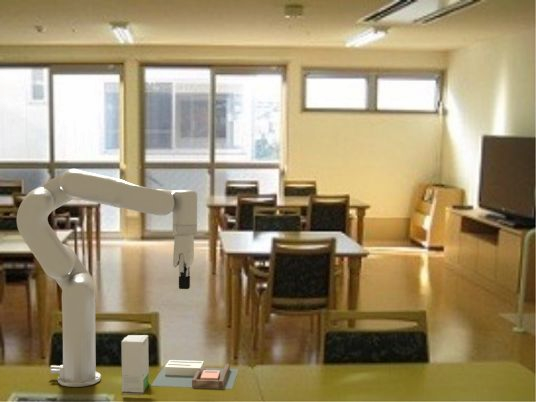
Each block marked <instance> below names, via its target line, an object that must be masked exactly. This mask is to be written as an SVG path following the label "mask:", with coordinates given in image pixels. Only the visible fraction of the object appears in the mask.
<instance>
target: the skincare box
mask: <svg viewBox="0 0 536 402" xmlns="http://www.w3.org/2000/svg"><path fill="white" fill-rule="evenodd" d="M120 345H121V347H120V348H121V392H122V393H121V395H123V396H124V395H125V396H126V395H127V396H143V395H144V392H145V391H146V389H147V388H148V386H149V383H150V374H149V373H150V372H149V370H150V369H149V367H150V365H149V364H150V363H149V335H147V334H142V335H141V334H140V335H139V334H131V335H130V334H128V335H127V336H125V337H123V339H122V340H121V343H120Z"/></svg>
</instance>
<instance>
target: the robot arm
mask: <svg viewBox="0 0 536 402" xmlns="http://www.w3.org/2000/svg"><path fill="white" fill-rule="evenodd" d="M74 199H75V200H80V201H84V202H92V203H95V204H100V205H105V206H109V207H114V208H118V209H125V210H130V211H135V212H139V213H144V214H149V215H154V216H160V217H162V216H164V217H165V216H168V215H169V214H170V213H172V235H173V236H174V240H173V253H172V256H173V257H172V258H173V259H172V266H173V268H177V267H178V289H179V290H189V289H190V288H191V266H192V264H193V263H194V260H195V259H194V257H195V242H194V241H195V238H194V237H195V236H197V235H198V193H197V191H196V190H194V189H193V190H192V189H176V190H171V189H164V188H150V187H146V186H142V185H137V184H133V183H131V182H128V181H125V180H123V179H121V178H117V177H113V176H108V175H102V174H98V173H94V172H88V171H85V170H84V171H83V170H81V169H79V168H70V169H67V170H66V171H63V172H62V173H60V174H59V175H58V176H55V177H54V178H52V179H50V180H48V181H46V182H45V183H43V184H41V185H39V186H38V187H36V188H34V189H32V190H31V191H30V192H28V193H27V194H26V195H25V196H24V198H23V199H22V202H21V203H20V204H19V207H18V209H17V213H16V227H17V230H18V232H19V235H20V236H21V238H22V240H23V241H24V242H25V244H26V245H27V247H28V249H29V250H30V252H31V253H32V254H33V256H34V257H35V259H36V260H37V262H38V263H39V264H40V266H41V269H42V270H43V271H44V273H45V274H46V275H47V276H48V277H50V278H52V279H54V280H55V282H56V283H57V284H58V286H59V287H60V289H61V291H62V292H61V311H62V312H61V315H62V316H61V318H62V325H61V326H62V364H60V365H53V364H52V365H50V368H49V371H50V374H51V375H57V374H58V377H57V383H58V385H61V386H64V387H69V388H77V387H80V388H82V387H88V386H91V385H94V384H97V383H98V382H100V381H101V378H102V374H101V373H100V372H98V371H96V368H97V367H96V363H97V362H96V359H97V358H96V299H97V298H96V297H97V296H96V285H95V280H94V279H93V277H92V275H91V273H89V271H88V269H87V268H86V267H85V265H84V264H83V263H82V261H81V259H80V258H79V257H78V256H77V253H76V252H75V251H74V250H73V248H71V247H70V246H69V245H68V244H65V243H63V242H62V241H61V240H60V239H59V237H58V236H57V234H56V232H55V230H54V229H53V227H51V225H50V224H49V221H48V220H49V218H48V217H49V215H50V214H51V213H52V212H53V211H55V210H56V209H58V208H60V207H63V205H65V204H67V203H69V202H71V201H72V200H74Z"/></svg>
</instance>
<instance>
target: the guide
mask: <svg viewBox="0 0 536 402" xmlns="http://www.w3.org/2000/svg"><path fill="white" fill-rule="evenodd" d="M222 369H223V372H222V374H221V377H220V379H219V380H199V379H200V377H201V370H197V372H196V374H195V376H194V378H193V379H192V387H191V388H193V387H210V388H209V389H219V388H223V386H224V383H225V381H226V378H227V375H228V373H229V370H230V369H231V365H230V363H225V365H224V367H223V368H222Z"/></svg>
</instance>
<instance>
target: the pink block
mask: <svg viewBox="0 0 536 402" xmlns="http://www.w3.org/2000/svg"><path fill="white" fill-rule="evenodd" d="M219 379H220V370H203V373H202V375H201V380H219Z"/></svg>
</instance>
